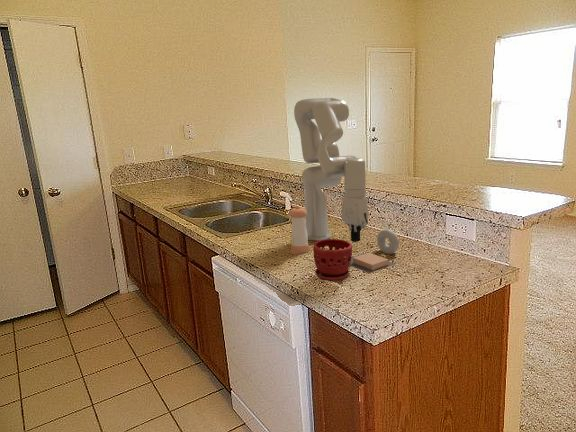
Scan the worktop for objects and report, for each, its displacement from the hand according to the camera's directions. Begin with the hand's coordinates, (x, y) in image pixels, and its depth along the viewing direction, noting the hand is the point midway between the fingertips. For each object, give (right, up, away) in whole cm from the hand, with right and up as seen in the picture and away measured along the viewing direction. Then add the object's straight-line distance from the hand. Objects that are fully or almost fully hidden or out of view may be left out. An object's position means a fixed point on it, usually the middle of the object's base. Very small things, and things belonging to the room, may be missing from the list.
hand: (355, 240), depth 164 cm
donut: (+14, -6, +7) cm, 16 cm away
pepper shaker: (-20, -6, +15) cm, 26 cm away
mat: (+4, -9, -3) cm, 10 cm away
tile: (+2, -6, -1) cm, 6 cm away
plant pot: (-9, -12, -12) cm, 19 cm away
